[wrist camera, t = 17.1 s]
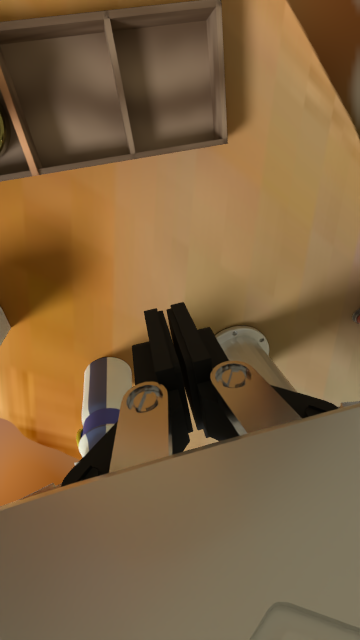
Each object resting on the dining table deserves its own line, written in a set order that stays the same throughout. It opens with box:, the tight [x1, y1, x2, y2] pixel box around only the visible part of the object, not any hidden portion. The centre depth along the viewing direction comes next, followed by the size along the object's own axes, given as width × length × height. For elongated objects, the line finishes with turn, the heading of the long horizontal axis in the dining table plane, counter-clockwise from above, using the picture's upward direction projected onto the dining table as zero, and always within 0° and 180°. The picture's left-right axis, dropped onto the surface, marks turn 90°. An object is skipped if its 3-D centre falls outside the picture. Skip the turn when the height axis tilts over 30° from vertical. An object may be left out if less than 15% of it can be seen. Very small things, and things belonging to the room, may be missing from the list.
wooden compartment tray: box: [0, 0, 228, 181], centre depth 28 cm, size 11×31×4 cm, turn 98°
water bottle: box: [75, 357, 132, 465], centre depth 37 cm, size 8×8×25 cm
